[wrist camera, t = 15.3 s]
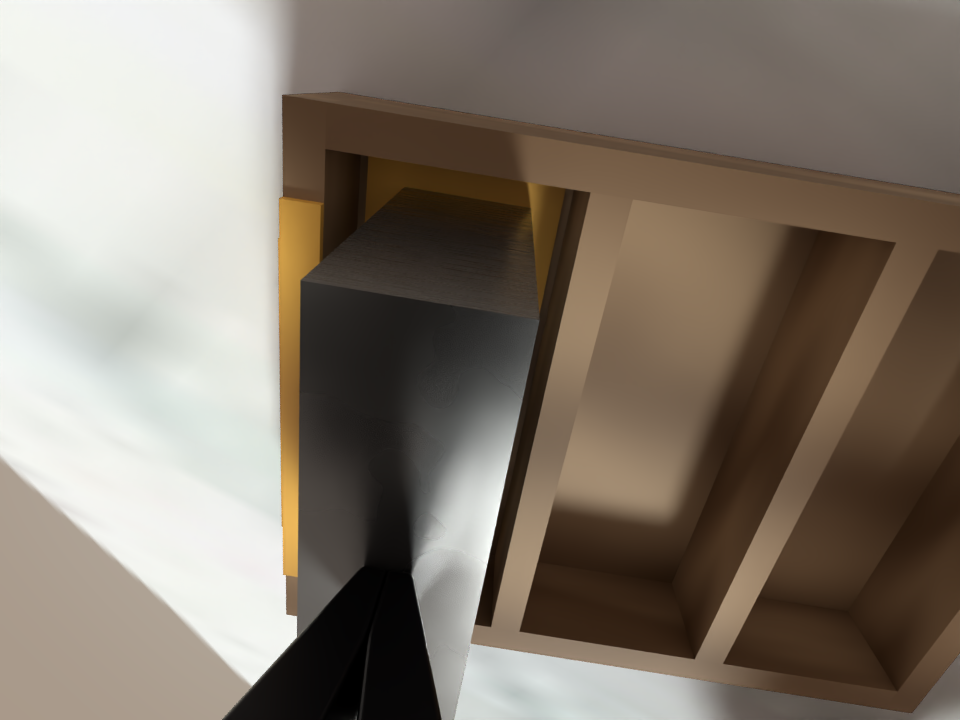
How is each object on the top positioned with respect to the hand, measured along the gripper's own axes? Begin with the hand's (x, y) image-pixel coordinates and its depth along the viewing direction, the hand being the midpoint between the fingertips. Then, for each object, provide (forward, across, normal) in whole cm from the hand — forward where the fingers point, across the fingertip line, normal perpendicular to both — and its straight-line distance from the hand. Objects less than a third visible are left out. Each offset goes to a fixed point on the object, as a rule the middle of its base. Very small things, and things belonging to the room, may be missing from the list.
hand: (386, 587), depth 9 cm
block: (+7, 0, 0) cm, 7 cm away
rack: (+8, -6, 0) cm, 10 cm away
